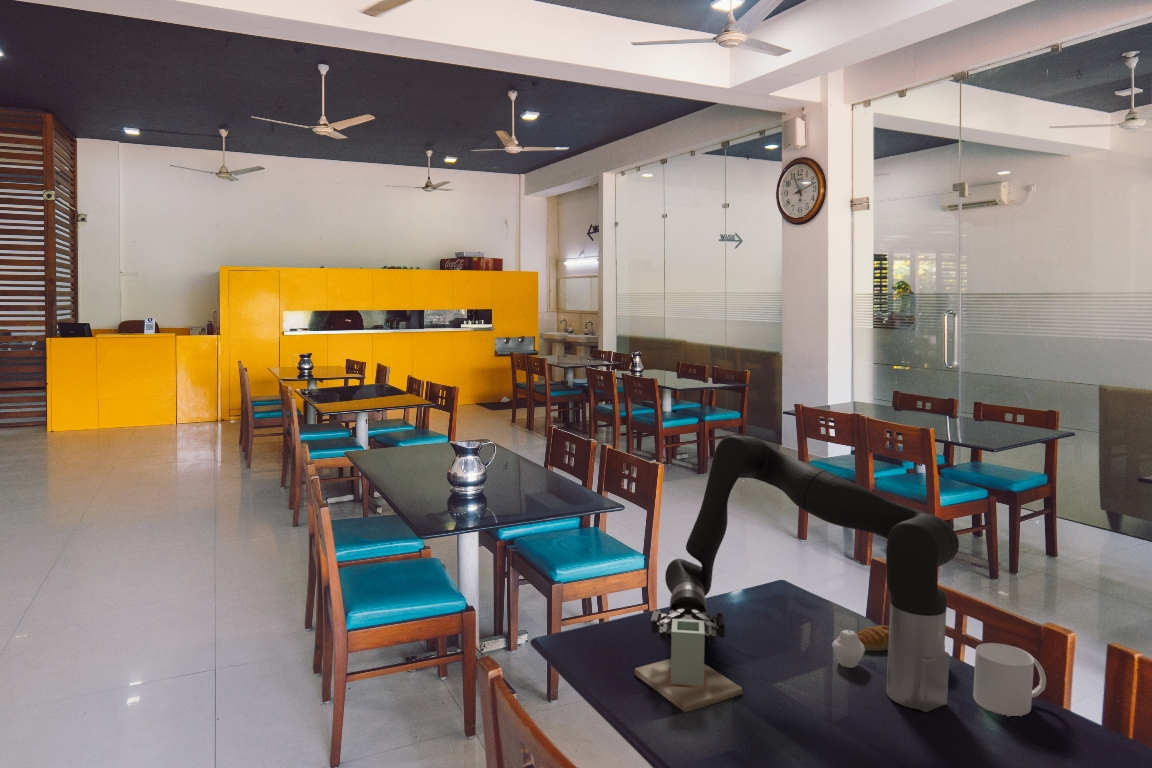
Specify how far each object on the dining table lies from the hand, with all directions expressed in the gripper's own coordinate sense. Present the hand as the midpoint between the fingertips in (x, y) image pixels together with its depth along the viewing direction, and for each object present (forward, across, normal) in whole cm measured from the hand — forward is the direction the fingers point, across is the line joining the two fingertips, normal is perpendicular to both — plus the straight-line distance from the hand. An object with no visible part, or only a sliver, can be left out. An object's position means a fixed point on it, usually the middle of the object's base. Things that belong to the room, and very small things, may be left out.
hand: (687, 639), depth 142 cm
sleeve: (0, 0, +7) cm, 7 cm away
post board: (0, 0, +9) cm, 9 cm away
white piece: (-13, +32, +9) cm, 35 cm away
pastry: (-23, +39, +9) cm, 46 cm away
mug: (-1, +57, +9) cm, 58 cm away
